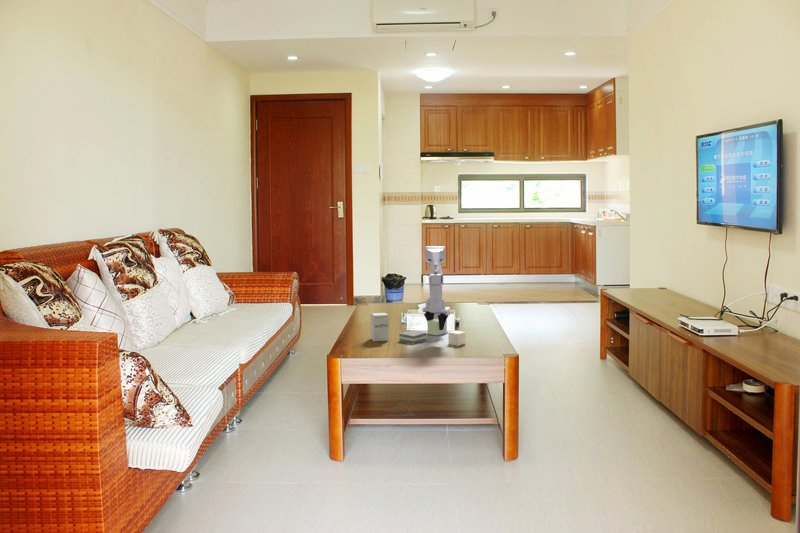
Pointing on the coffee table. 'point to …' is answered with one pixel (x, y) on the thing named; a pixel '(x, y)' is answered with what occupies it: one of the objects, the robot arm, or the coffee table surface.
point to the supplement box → (379, 327)
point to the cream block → (456, 338)
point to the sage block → (434, 327)
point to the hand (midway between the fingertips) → (436, 329)
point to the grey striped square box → (412, 337)
